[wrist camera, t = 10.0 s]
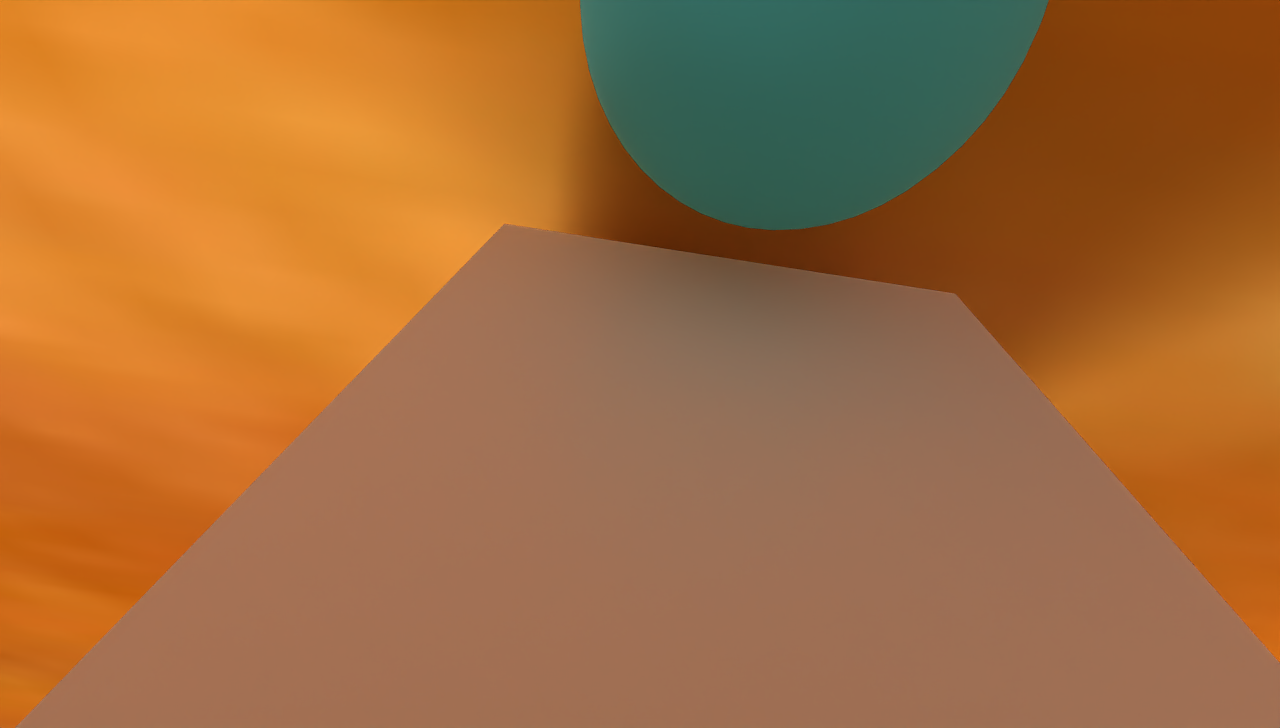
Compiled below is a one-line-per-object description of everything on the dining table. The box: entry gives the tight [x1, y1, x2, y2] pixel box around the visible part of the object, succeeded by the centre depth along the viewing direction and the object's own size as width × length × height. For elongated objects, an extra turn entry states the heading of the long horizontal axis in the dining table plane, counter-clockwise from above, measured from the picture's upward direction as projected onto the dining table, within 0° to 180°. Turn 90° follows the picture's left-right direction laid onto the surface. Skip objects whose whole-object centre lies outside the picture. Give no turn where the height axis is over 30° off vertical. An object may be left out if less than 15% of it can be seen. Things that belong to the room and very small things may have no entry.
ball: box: [580, 0, 1049, 230], centre depth 6 cm, size 5×5×5 cm
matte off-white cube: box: [15, 224, 1280, 728], centre depth 7 cm, size 8×8×9 cm
